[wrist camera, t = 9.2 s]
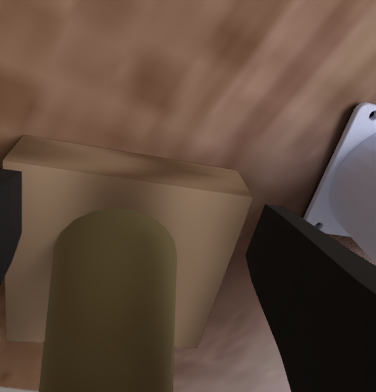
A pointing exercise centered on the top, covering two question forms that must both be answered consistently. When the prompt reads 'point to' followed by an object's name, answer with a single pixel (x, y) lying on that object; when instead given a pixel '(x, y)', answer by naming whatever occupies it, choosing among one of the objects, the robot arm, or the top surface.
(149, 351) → the cork
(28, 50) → the top surface
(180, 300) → the walnut block
